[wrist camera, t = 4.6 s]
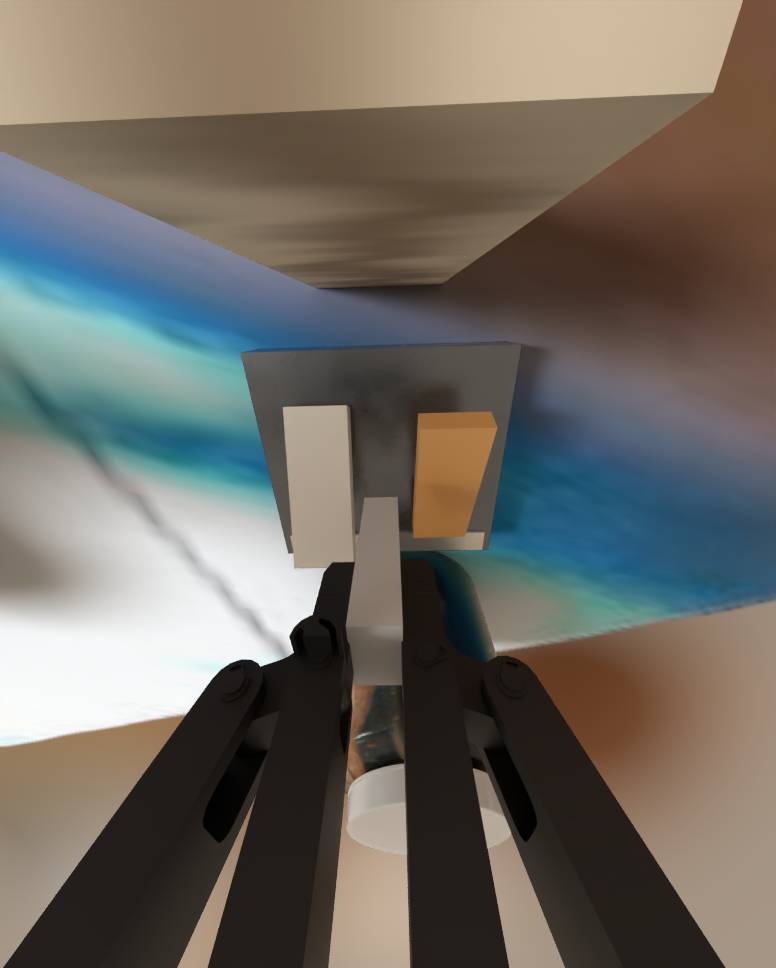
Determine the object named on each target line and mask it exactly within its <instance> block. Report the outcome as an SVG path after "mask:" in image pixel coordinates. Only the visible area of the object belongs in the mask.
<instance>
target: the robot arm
mask: <svg viewBox="0 0 776 968" xmlns="http://www.w3.org/2000/svg"><path fill="white" fill-rule="evenodd" d="M289 637H290V640H291V644H292V647H293V651H294V653H293V654H291V655H290V656H289V657H286V658H284V659H282V660H279V661H276V662H273V663H270V664H267V665H264V666H261V667H260V666H259V664H258V663H256V662H254V661H252V660H239V661H236V662H233V663H231V664H229V665H227V666H226V667H224V668H223V669H221V670H220V671H219V672H218V674H217V675H216V676H215V677H214V678H213V679H212V680H211V682H210V683H209V684H208V686H207V687H206V688H205V690H204V691H203V693H202V694H201V695H200V697H199V698H198V699H197V701H196V702H195V704H194V705H193V706H192V708H191V709H190V711H189V712H188V713H187V715H186V716H185V717H184V719H183V720H182V722H181V723H180V724H179V726H178V727H177V729H176V730H175V731H174V733H173V734H172V735H171V737H170V738H169V740H168V741H167V742H166V744H165V745H164V747H163V748H162V749H161V751H160V752H159V754H158V755H157V756H156V757H155V759H154V760H153V762H152V763H151V765H150V766H149V767H148V769H147V770H146V771H145V773H144V774H143V775H142V777H141V778H140V780H139V781H138V782H137V784H136V785H135V786H134V788H133V789H132V791H131V792H130V793H129V795H128V796H127V798H126V799H125V800H124V802H123V803H122V804H121V806H120V807H119V809H118V810H117V811H116V813H115V814H114V816H113V817H112V818H111V820H110V821H109V822H108V824H107V825H106V827H105V828H104V829H103V831H102V832H101V834H100V835H99V836H98V838H97V839H96V840H95V842H94V843H93V844H92V846H91V847H90V849H89V850H88V852H87V853H86V854H85V856H84V857H83V858H82V860H81V861H80V862H79V864H78V865H77V867H76V868H75V870H74V871H73V872H72V874H71V875H70V876H69V878H68V879H67V881H66V882H65V883H64V885H63V886H62V887H61V889H60V890H59V891H58V893H57V894H56V896H55V897H54V898H53V900H52V901H51V903H50V904H49V905H48V907H47V908H46V909H45V911H44V912H43V914H42V915H41V916H40V918H39V919H38V921H37V922H36V924H35V925H34V926H33V927H32V929H31V930H30V932H29V933H28V934H27V936H26V937H25V938H24V940H23V941H22V943H21V944H20V945H19V947H18V948H17V949H16V951H15V952H14V954H13V955H12V957H11V958H10V959H9V961H8V962H7V963H6V965H5V966H4V967H3V968H177V967H178V965H179V962H180V960H181V958H182V956H183V954H184V952H185V949H186V947H187V945H188V943H189V941H190V938H191V936H192V934H193V932H194V930H195V928H196V925H197V923H198V921H199V919H200V916H201V914H202V912H203V910H204V908H205V906H206V903H207V901H208V899H209V897H210V895H211V892H212V890H213V888H214V886H215V884H216V882H217V879H218V877H219V875H220V873H221V871H222V868H223V866H224V864H225V862H226V860H227V857H228V855H229V853H230V851H231V849H232V847H233V844H234V842H235V839H236V838H237V836H238V833H239V831H240V829H241V827H242V825H243V822H244V820H245V818H246V816H247V814H248V811H249V809H250V807H251V805H252V803H253V800H254V798H255V796H256V798H255V801H254V805H253V808H252V812H251V815H250V819H249V822H248V826H247V830H246V833H245V836H244V840H243V844H242V847H241V851H240V854H239V858H238V862H237V865H236V869H235V872H234V876H233V879H232V883H231V887H230V890H229V894H228V897H227V901H226V904H225V908H224V911H223V915H222V918H221V922H220V926H219V929H218V933H217V937H216V940H215V944H214V947H213V951H212V954H211V958H210V961H209V965H208V968H328V963H329V953H330V941H331V931H332V922H333V911H334V900H335V890H336V879H337V869H338V858H339V847H340V837H341V826H342V815H343V805H344V794H345V784H346V774H347V763H348V752H349V742H350V731H351V721H352V710H353V706H352V686H353V681H354V686H357V685H402V696H403V736H404V771H405V805H406V839H407V872H408V907H409V939H410V940H409V941H410V968H509V964H508V959H507V953H506V947H505V942H504V937H503V931H502V926H501V920H500V915H499V909H498V904H497V898H496V893H495V888H494V882H493V876H492V871H491V865H490V860H489V854H488V849H487V843H486V838H485V832H484V827H483V821H482V816H481V810H480V805H479V799H478V794H477V788H476V783H475V777H474V772H473V766H472V761H471V755H470V750H469V744H468V742H470V743H473V744H475V745H476V746H477V748H478V751H479V753H480V756H481V758H482V761H483V763H484V766H485V768H486V771H487V773H488V776H489V778H490V781H491V783H492V786H493V788H494V791H495V793H496V796H497V798H498V801H499V803H500V806H501V808H502V811H503V813H504V816H505V818H506V821H507V823H508V826H509V828H510V831H511V833H512V836H513V838H514V841H515V843H516V845H517V848H518V851H519V853H520V856H521V858H522V861H523V863H524V866H525V868H526V871H527V873H528V876H529V878H530V881H531V883H532V886H533V888H534V891H535V893H536V896H537V898H538V901H539V903H540V906H541V908H542V911H543V913H544V916H545V918H546V920H547V923H548V926H549V928H550V931H551V933H552V936H553V938H554V941H555V943H556V946H557V948H558V951H559V953H560V955H561V958H562V961H563V963H564V966H565V968H725V966H724V965H723V963H722V962H721V960H720V959H719V957H718V956H717V954H716V953H715V951H714V949H713V948H712V946H711V945H710V944H709V942H708V940H707V939H706V937H705V936H704V934H703V932H702V931H701V929H700V928H699V926H698V925H697V923H696V922H695V920H694V919H693V917H692V916H691V914H690V912H689V911H688V910H687V908H686V906H685V905H684V903H683V902H682V900H681V898H680V897H679V895H678V894H677V892H676V891H675V889H674V888H673V886H672V885H671V883H670V882H669V880H668V878H667V877H666V876H665V874H664V872H663V871H662V869H661V868H660V866H659V865H658V863H657V862H656V860H655V858H654V857H653V855H652V854H651V853H650V851H649V849H648V848H647V846H646V844H645V843H644V841H643V840H642V838H641V837H640V835H639V834H638V832H637V831H636V829H635V828H634V826H633V824H632V823H631V821H630V820H629V818H628V817H627V815H626V814H625V812H624V811H623V809H622V808H621V806H620V804H619V803H618V802H617V800H616V798H615V797H614V795H613V794H612V792H611V790H610V789H609V788H608V786H607V784H606V783H605V781H604V780H603V778H602V777H601V775H600V774H599V772H598V771H597V769H596V767H595V766H594V764H593V763H592V761H591V760H590V758H589V757H588V755H587V754H586V752H585V750H584V749H583V747H582V746H581V744H580V743H579V741H578V740H577V738H576V736H575V735H574V733H573V732H572V730H571V729H570V727H569V726H568V724H567V723H566V721H565V720H564V718H563V717H562V715H561V713H560V712H559V710H558V709H557V707H556V706H555V705H554V703H553V701H552V700H551V698H550V696H549V695H548V693H547V692H546V690H545V689H544V687H543V686H542V684H541V682H540V681H539V680H538V678H537V676H536V675H535V674H534V673H533V672H532V670H531V669H530V668H529V667H528V666H527V665H526V664H524V663H523V662H521V661H520V660H518V659H516V658H512V657H509V656H497V657H495V658H493V659H491V660H489V662H488V663H487V662H484V661H481V660H478V659H474V658H471V657H469V656H466V655H464V654H462V653H461V652H459V651H458V650H456V649H455V648H454V647H453V646H452V645H451V644H450V642H449V640H448V639H447V637H446V634H445V631H444V625H443V619H442V614H441V608H440V602H439V596H438V591H437V585H436V579H435V574H434V569H433V568H432V567H431V565H430V564H429V563H428V561H427V560H400V544H399V520H398V497H372V498H364V504H363V511H362V518H361V525H360V532H359V538H358V545H357V552H356V559H355V562H332V563H331V564H330V566H329V567H328V568H327V569H326V571H325V572H324V574H323V578H322V582H321V587H320V590H319V593H318V597H317V601H316V605H315V609H314V612H313V615H312V616H309V617H307V618H305V619H303V620H302V621H301V622H299V623H298V624H297V625H296V626H295V627H294V629H293V631H292V633H291V634H290V636H289Z"/></svg>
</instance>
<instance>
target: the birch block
mask: <svg viewBox="0 0 776 968" xmlns="http://www.w3.org/2000/svg"><path fill="white" fill-rule="evenodd" d="M742 2H743V0H0V151H2V152H5V153H7V154H9V155H12V156H14V157H16V158H18V159H21V160H23V161H25V162H28V163H30V164H32V165H34V166H37V167H39V168H41V169H44V170H46V171H48V172H51V173H53V174H55V175H57V176H60V177H62V178H64V179H67V180H69V181H71V182H74V183H76V184H78V185H80V186H83V187H85V188H87V189H90V190H92V191H94V192H96V193H99V194H101V195H103V196H106V197H108V198H110V199H113V200H115V201H117V202H119V203H122V204H124V205H126V206H129V207H131V208H133V209H136V210H138V211H140V212H142V213H145V214H147V215H149V216H152V217H154V218H156V219H158V220H161V221H163V222H165V223H168V224H170V225H172V226H175V227H177V228H179V229H181V230H184V231H186V232H188V233H191V234H193V235H195V236H198V237H200V238H202V239H204V240H207V241H209V242H211V243H214V244H216V245H218V246H221V247H223V248H225V249H227V250H230V251H232V252H234V253H237V254H239V255H241V256H243V257H246V258H248V259H250V260H253V261H255V262H257V263H260V264H262V265H264V266H266V267H269V268H271V269H273V270H276V271H278V272H280V273H283V274H285V275H287V276H289V277H292V278H294V279H296V280H299V281H301V282H303V283H305V284H308V285H310V286H312V287H315V288H337V287H366V286H395V285H424V284H443V283H444V282H445V281H447V280H448V279H450V278H451V277H453V276H454V275H455V274H457V273H458V272H460V271H461V270H462V269H464V268H465V267H467V266H468V265H470V264H471V263H472V262H474V261H475V260H477V259H478V258H479V257H481V256H482V255H484V254H485V253H487V252H488V251H489V250H491V249H492V248H494V247H495V246H496V245H498V244H499V243H501V242H502V241H504V240H505V239H506V238H508V237H509V236H511V235H512V234H513V233H515V232H516V231H518V230H519V229H521V228H522V227H523V226H525V225H526V224H528V223H529V222H530V221H532V220H533V219H535V218H536V217H538V216H539V215H540V214H542V213H543V212H545V211H546V210H547V209H549V208H550V207H552V206H553V205H554V204H556V203H557V202H559V201H560V200H562V199H563V198H564V197H566V196H567V195H569V194H570V193H571V192H573V191H574V190H576V189H577V188H579V187H580V186H581V185H583V184H584V183H586V182H587V181H588V180H590V179H591V178H593V177H594V176H596V175H597V174H598V173H600V172H601V171H603V170H604V169H605V168H607V167H608V166H610V165H611V164H613V163H614V162H615V161H617V160H618V159H620V158H621V157H622V156H624V155H625V154H627V153H628V152H630V151H631V150H632V149H634V148H635V147H637V146H638V145H639V144H641V143H642V142H644V141H645V140H647V139H648V138H649V137H651V136H652V135H654V134H655V133H656V132H658V131H659V130H661V129H662V128H663V127H665V126H666V125H668V124H669V123H671V122H672V121H673V120H675V119H676V118H678V117H679V116H680V115H682V114H683V113H685V112H686V111H688V110H689V109H690V108H692V107H693V106H695V105H696V104H697V103H699V102H700V101H702V100H703V99H705V98H706V97H707V96H709V95H710V94H712V93H713V92H714V89H715V85H716V82H717V79H718V76H719V73H720V70H721V67H722V64H723V61H724V58H725V54H726V51H727V48H728V45H729V42H730V39H731V36H732V33H733V30H734V26H735V23H736V20H737V17H738V14H739V11H740V8H741V5H742Z"/></svg>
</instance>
